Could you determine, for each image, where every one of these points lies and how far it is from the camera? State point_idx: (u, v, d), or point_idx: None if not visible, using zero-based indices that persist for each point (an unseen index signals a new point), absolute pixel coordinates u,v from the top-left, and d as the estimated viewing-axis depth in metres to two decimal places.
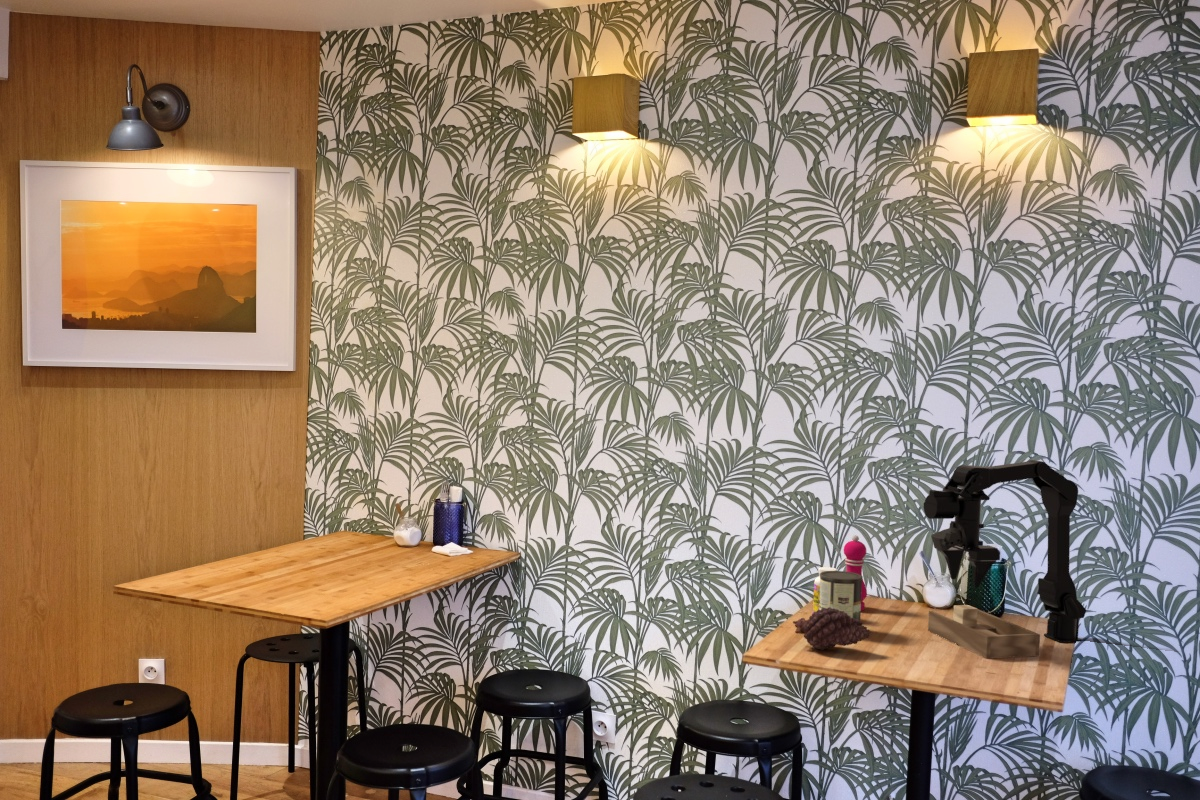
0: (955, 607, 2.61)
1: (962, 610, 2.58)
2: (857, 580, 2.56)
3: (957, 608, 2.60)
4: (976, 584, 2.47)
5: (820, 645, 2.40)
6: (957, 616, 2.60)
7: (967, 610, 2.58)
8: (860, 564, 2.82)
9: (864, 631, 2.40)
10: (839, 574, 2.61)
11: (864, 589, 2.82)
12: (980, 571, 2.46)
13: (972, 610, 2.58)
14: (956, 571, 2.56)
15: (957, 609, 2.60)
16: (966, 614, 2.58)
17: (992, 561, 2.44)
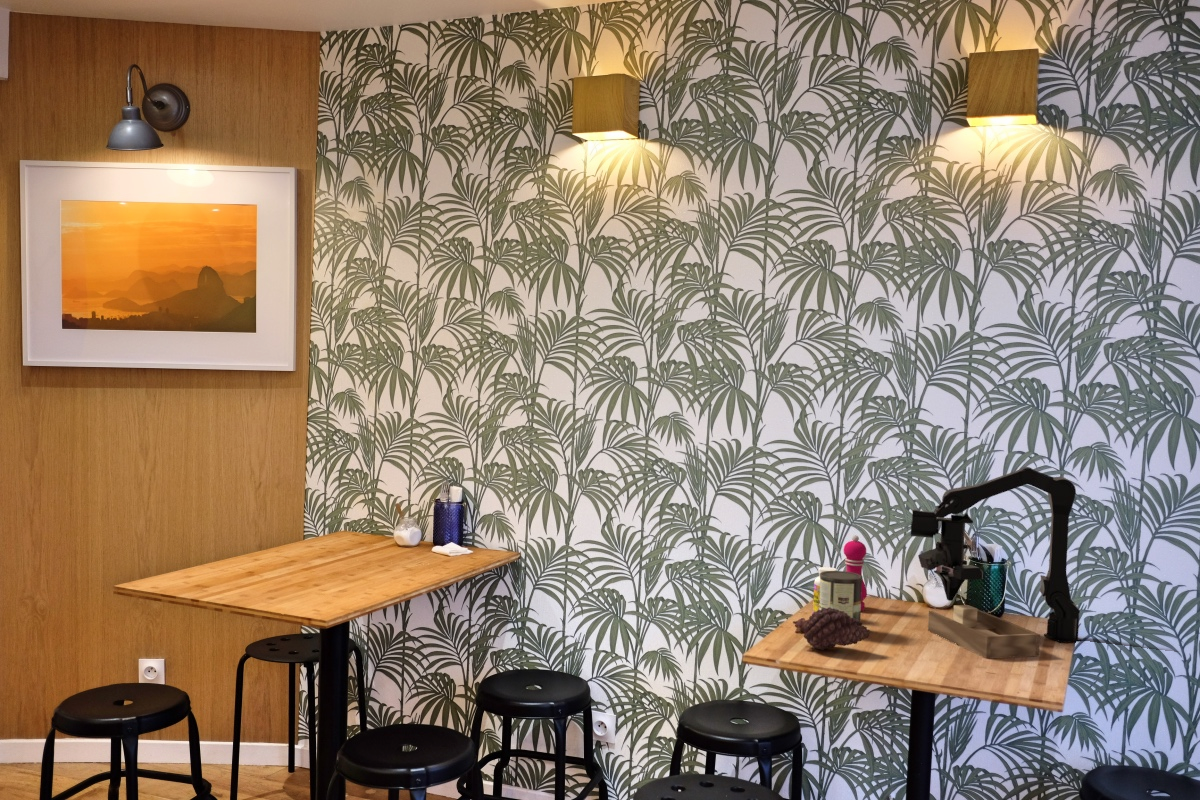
0: (955, 607, 2.61)
1: (962, 610, 2.58)
2: (857, 580, 2.56)
3: (957, 608, 2.60)
4: (950, 597, 2.66)
5: (820, 645, 2.40)
6: (957, 616, 2.60)
7: (967, 610, 2.58)
8: (860, 564, 2.82)
9: (864, 631, 2.40)
10: (839, 574, 2.61)
11: (864, 589, 2.82)
12: (954, 585, 2.65)
13: (972, 610, 2.58)
14: None
15: (957, 609, 2.60)
16: (966, 614, 2.58)
17: None
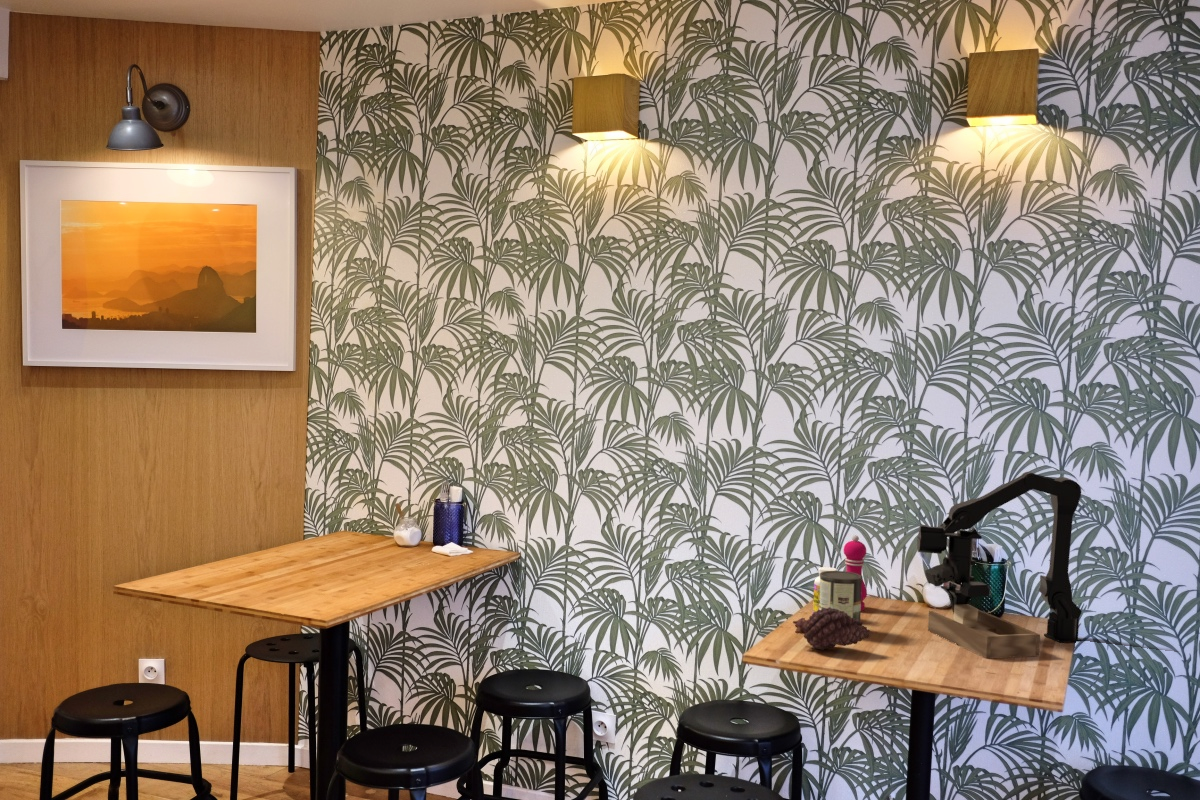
0: (956, 606, 2.61)
1: (963, 610, 2.58)
2: (857, 580, 2.56)
3: (958, 608, 2.60)
4: None
5: (820, 645, 2.40)
6: (957, 615, 2.60)
7: (968, 610, 2.58)
8: (860, 564, 2.82)
9: (864, 631, 2.40)
10: (839, 574, 2.61)
11: (864, 589, 2.82)
12: (960, 601, 2.63)
13: (973, 610, 2.58)
14: None
15: (958, 609, 2.60)
16: (967, 614, 2.58)
17: None
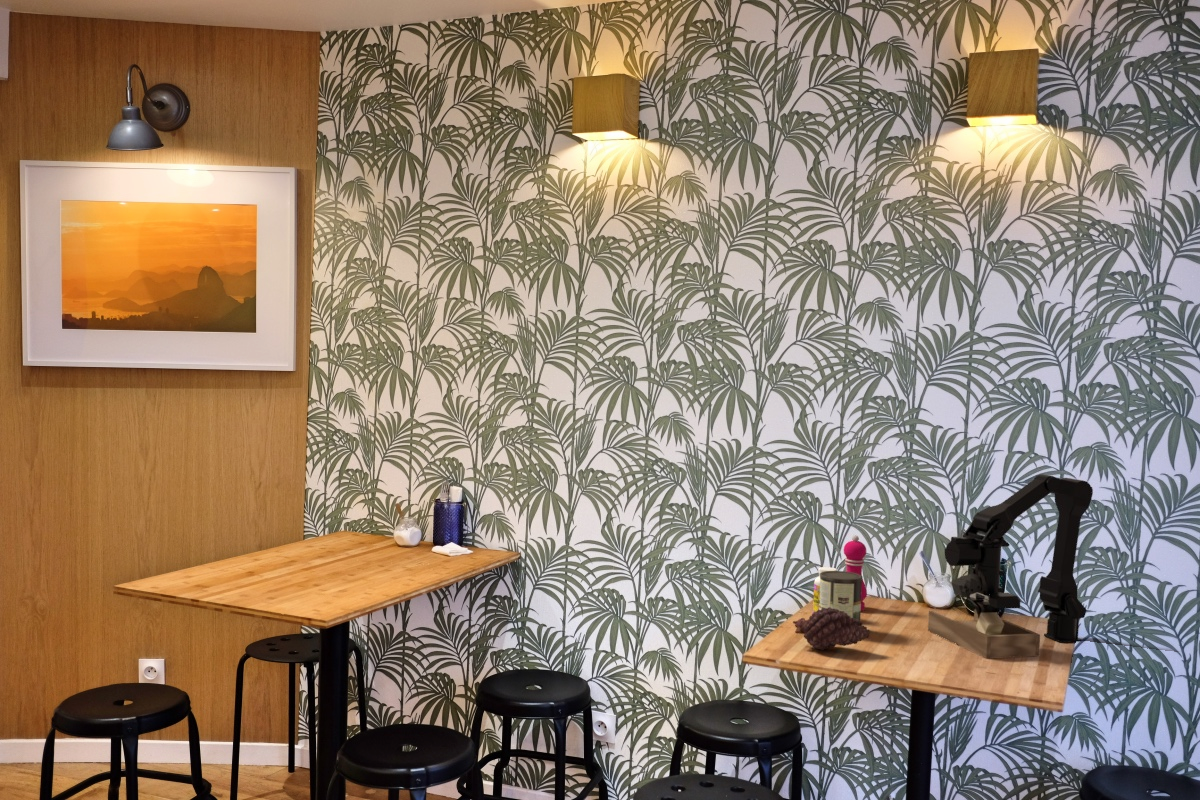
0: (981, 615, 2.49)
1: (987, 624, 2.46)
2: (857, 580, 2.56)
3: (983, 618, 2.48)
4: None
5: (820, 645, 2.40)
6: (981, 624, 2.49)
7: (992, 625, 2.46)
8: (860, 564, 2.82)
9: (864, 631, 2.40)
10: (839, 574, 2.61)
11: (864, 589, 2.82)
12: None
13: (998, 625, 2.46)
14: None
15: (983, 619, 2.48)
16: (990, 628, 2.47)
17: None
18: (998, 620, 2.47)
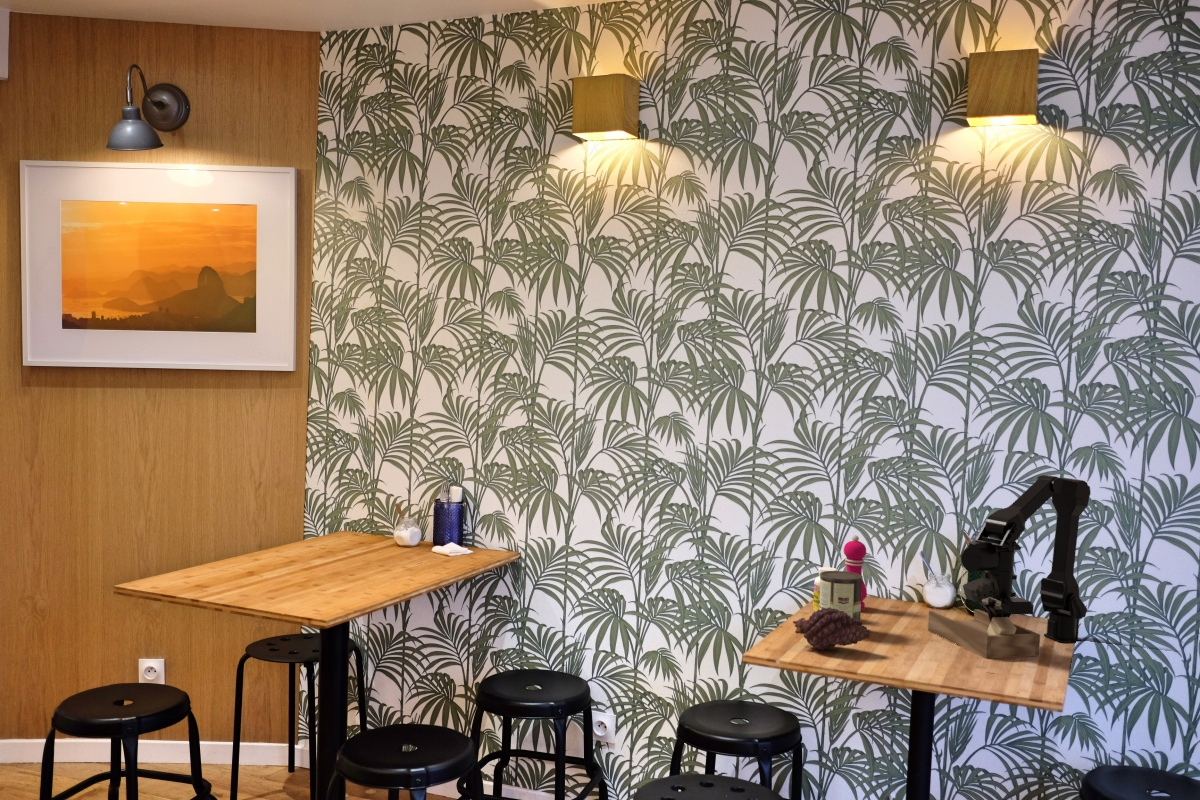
0: (993, 620, 2.44)
1: (1000, 629, 2.42)
2: (857, 580, 2.56)
3: (995, 623, 2.44)
4: None
5: (820, 645, 2.40)
6: (993, 629, 2.44)
7: (1005, 630, 2.42)
8: (860, 564, 2.82)
9: (864, 631, 2.40)
10: (839, 574, 2.61)
11: (864, 589, 2.82)
12: None
13: (1010, 630, 2.42)
14: None
15: (995, 624, 2.44)
16: (1003, 633, 2.42)
17: None
18: (1010, 625, 2.43)
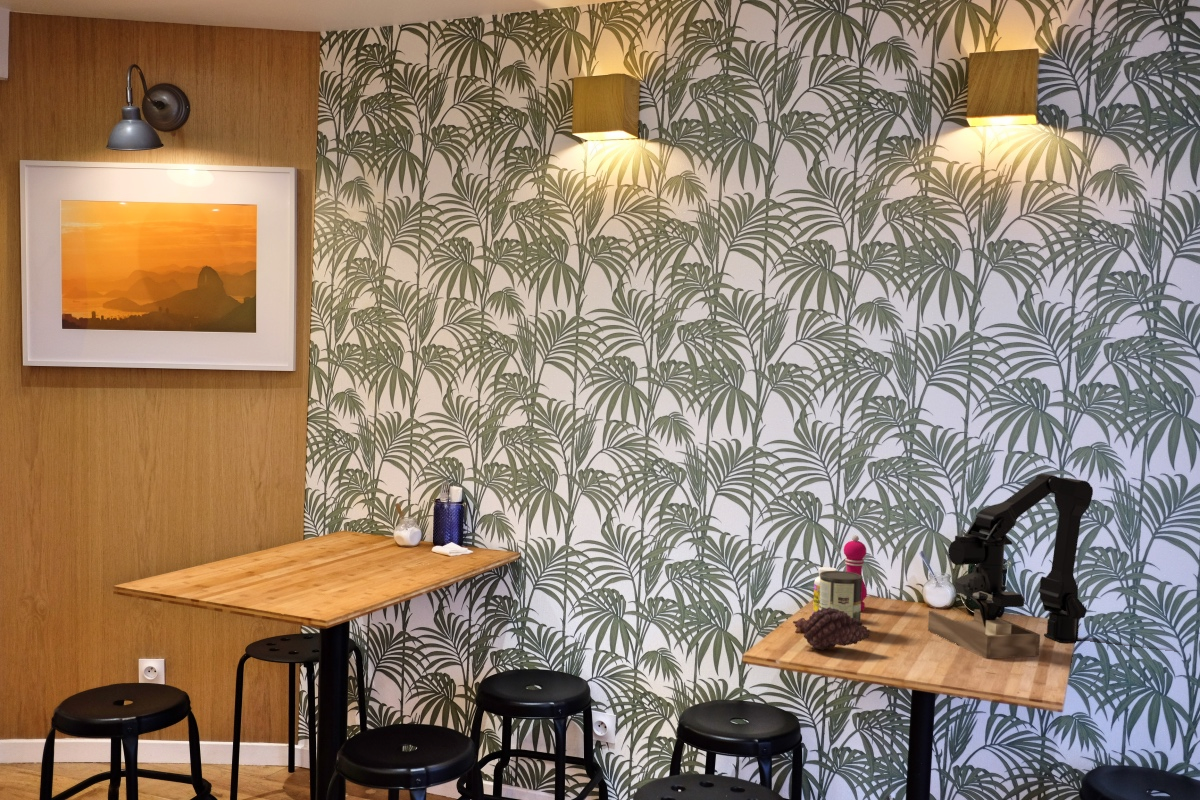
0: (987, 622, 2.47)
1: (995, 626, 2.44)
2: (857, 580, 2.56)
3: (989, 623, 2.46)
4: None
5: (820, 645, 2.40)
6: (989, 632, 2.46)
7: (1000, 626, 2.44)
8: (860, 564, 2.82)
9: (864, 631, 2.40)
10: (839, 574, 2.61)
11: (864, 589, 2.82)
12: (992, 612, 2.50)
13: (1006, 626, 2.44)
14: None
15: (990, 625, 2.46)
16: (999, 630, 2.44)
17: None
18: (1004, 623, 2.45)
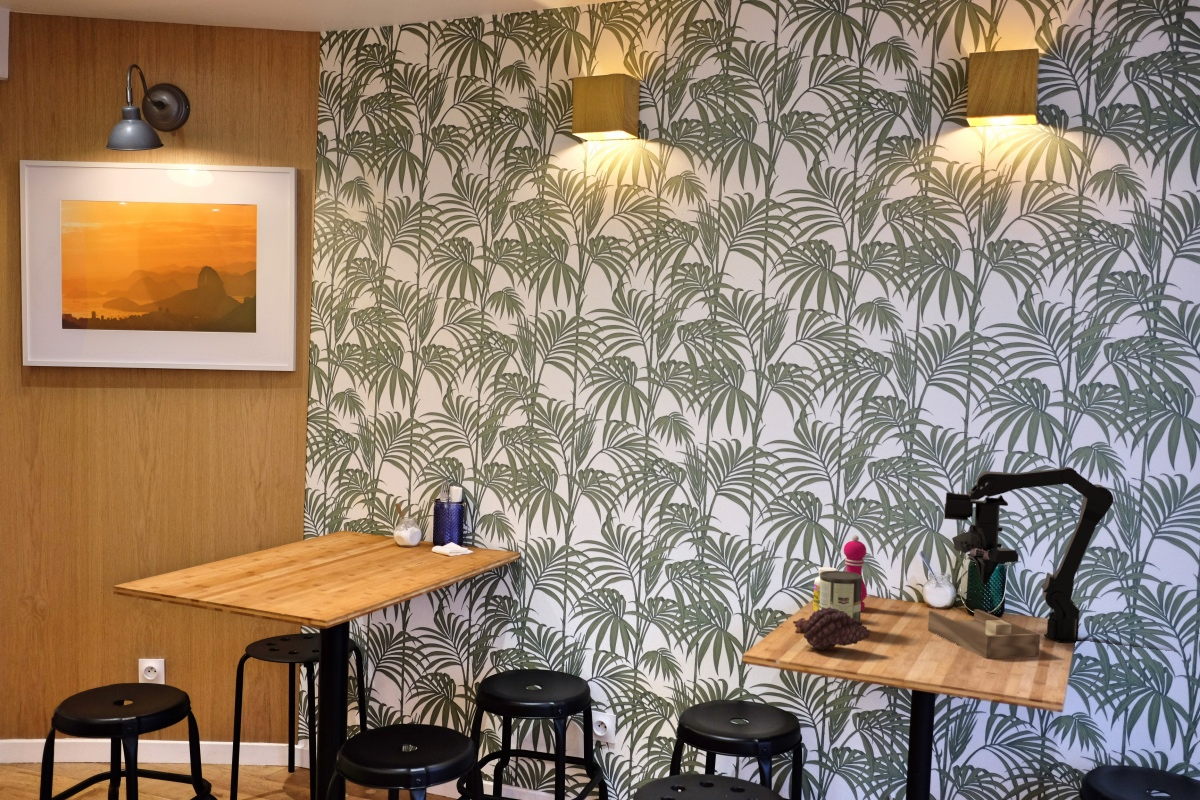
0: (987, 622, 2.47)
1: (995, 626, 2.44)
2: (857, 580, 2.56)
3: (989, 623, 2.46)
4: (984, 581, 2.64)
5: (820, 645, 2.40)
6: (989, 632, 2.46)
7: (1000, 626, 2.44)
8: (860, 564, 2.82)
9: (864, 631, 2.40)
10: (839, 574, 2.61)
11: (864, 589, 2.82)
12: (988, 568, 2.63)
13: (1006, 626, 2.44)
14: None
15: (990, 625, 2.46)
16: (999, 630, 2.44)
17: None
18: (1004, 623, 2.45)
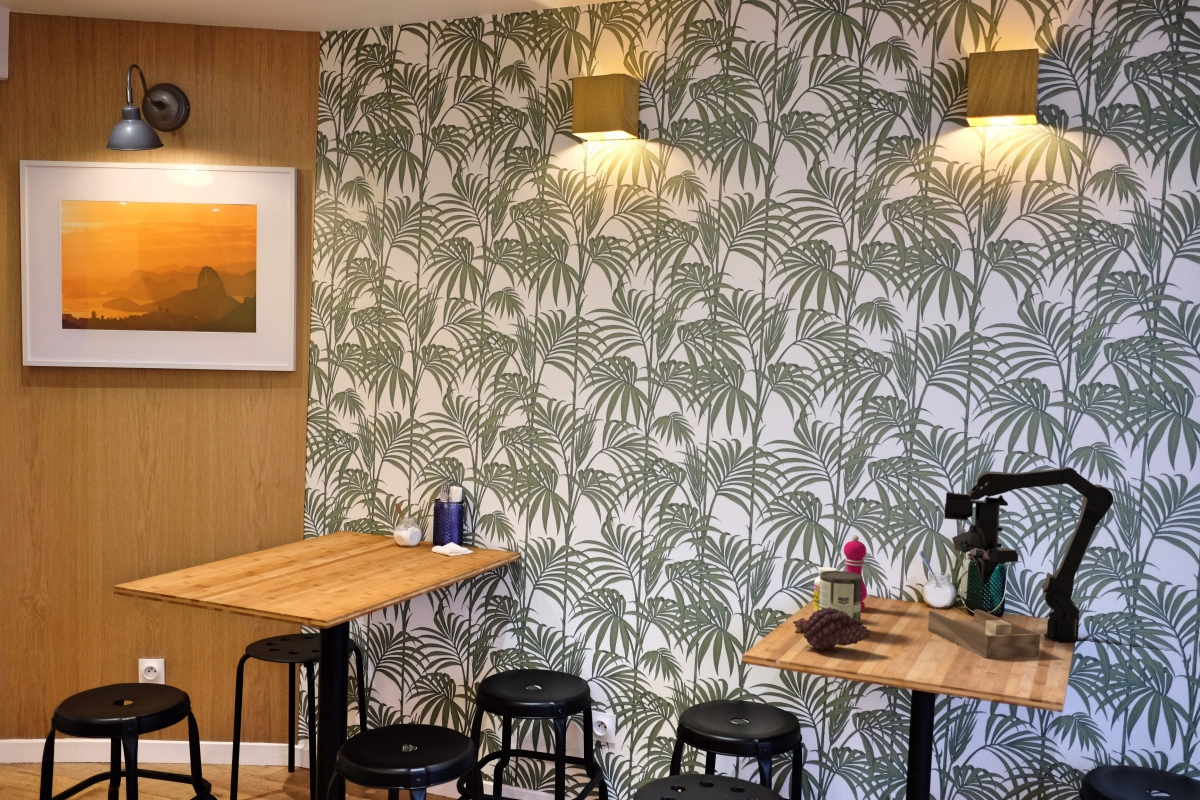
0: (987, 622, 2.47)
1: (995, 626, 2.44)
2: (857, 580, 2.56)
3: (989, 623, 2.46)
4: (984, 581, 2.64)
5: (820, 645, 2.40)
6: (989, 632, 2.46)
7: (1000, 626, 2.44)
8: (860, 564, 2.82)
9: (864, 631, 2.40)
10: (839, 574, 2.61)
11: (864, 589, 2.82)
12: (988, 568, 2.63)
13: (1006, 626, 2.44)
14: None
15: (990, 625, 2.46)
16: (999, 630, 2.44)
17: None
18: (1004, 623, 2.45)
